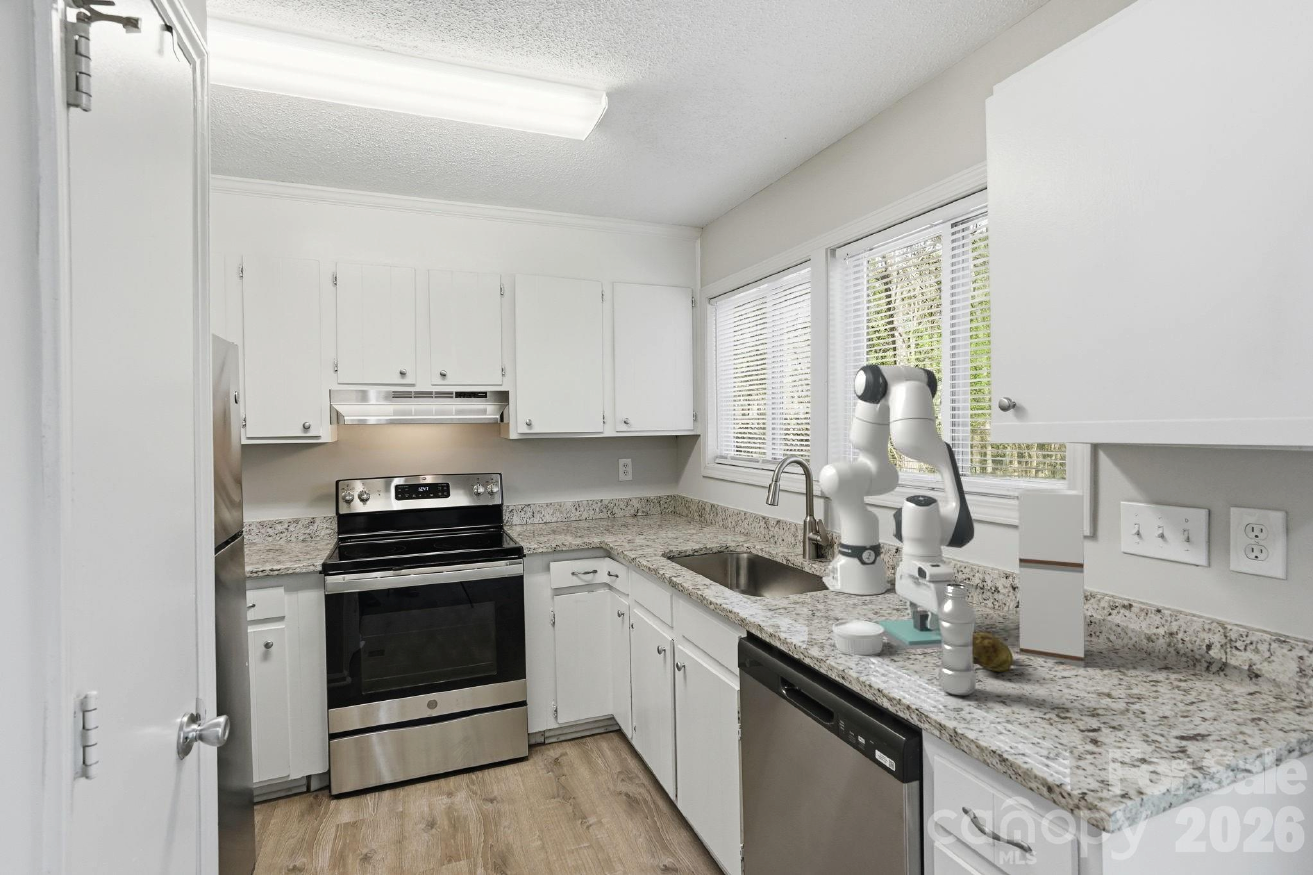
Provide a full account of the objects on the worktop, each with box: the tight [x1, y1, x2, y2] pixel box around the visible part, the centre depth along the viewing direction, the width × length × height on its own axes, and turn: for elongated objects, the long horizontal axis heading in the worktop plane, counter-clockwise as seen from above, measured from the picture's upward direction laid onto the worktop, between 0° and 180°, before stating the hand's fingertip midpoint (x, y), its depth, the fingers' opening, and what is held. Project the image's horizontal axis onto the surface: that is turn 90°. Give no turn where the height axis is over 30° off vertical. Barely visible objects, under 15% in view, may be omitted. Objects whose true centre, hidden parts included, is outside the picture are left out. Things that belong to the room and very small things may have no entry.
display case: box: [1017, 487, 1086, 668], centre depth 141 cm, size 11×11×35 cm
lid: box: [877, 609, 942, 645], centre depth 155 cm, size 15×15×5 cm
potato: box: [972, 632, 1014, 673], centre depth 133 cm, size 8×13×8 cm, turn 117°
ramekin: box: [832, 619, 885, 657], centre depth 146 cm, size 11×11×5 cm
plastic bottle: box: [937, 582, 977, 696], centre depth 122 cm, size 6×7×20 cm
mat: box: [871, 618, 942, 651], centre depth 155 cm, size 20×20×1 cm
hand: (922, 623), depth 155 cm, fingers open, 6 cm apart
